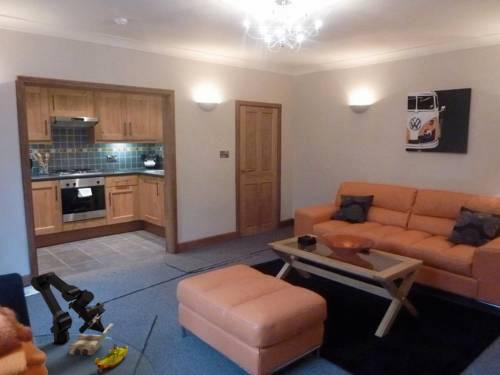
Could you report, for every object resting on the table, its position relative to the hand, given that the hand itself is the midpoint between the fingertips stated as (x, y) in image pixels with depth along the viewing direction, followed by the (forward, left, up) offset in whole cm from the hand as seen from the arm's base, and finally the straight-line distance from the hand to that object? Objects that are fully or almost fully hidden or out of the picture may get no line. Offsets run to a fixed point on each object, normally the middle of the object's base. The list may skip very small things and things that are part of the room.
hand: (104, 332), depth 198 cm
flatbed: (-10, 0, -10) cm, 14 cm away
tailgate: (-3, 0, -7) cm, 7 cm away
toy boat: (+9, -12, -10) cm, 18 cm away
